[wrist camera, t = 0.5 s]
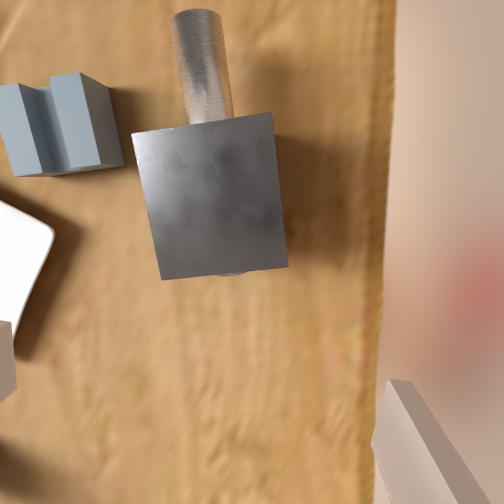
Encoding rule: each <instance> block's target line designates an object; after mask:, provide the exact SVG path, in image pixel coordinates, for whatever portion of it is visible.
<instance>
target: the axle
mask: <svg viewBox="0 0 504 504" xmlns="http://www.w3.org/2000/svg"><path fill="white" fill-rule="evenodd" d="M170 30H171V36H172V42H173V48H174V54H175V60H176V66H177V72H178V78H179V84H180V90H181V96H182V102H183V108H184V114H185V120H186V125H191V124H198V123H204V122H211V121H217V120H224V119H230V118H234V110H233V103H232V95H231V88H230V80H229V73H228V65H227V58H226V50H225V43H224V35H223V28H222V20H221V17H220V16H219V15H218V14H217V13H215V12H213V11H210V10H206V9H191V10H186V11H183V12H180V13H178V14H176V15H175V16H173V17H172V19H171V20H170ZM247 272H249V271H247ZM243 273H246V272H237V273H228V274H218V275H215V276H234V275H239V274H243Z"/></svg>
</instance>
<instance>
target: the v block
mask: <svg viewBox="0 0 504 504" xmlns="http://www.w3.org/2000/svg"><path fill="white" fill-rule="evenodd" d="M48 78H49V82H50V86H47V87H41V88H36V89H33V88H30V87H28V86H25V85H22V84H19V83H15V84H9V85H3V86H0V131H1V134H2V137H3V141H4V144H5V147H6V151H7V154H8V158H9V161H10V164H11V168H12V171H13V174H14V177H50V176H57V175H64V174H71V173H78V172H85V171H92V170H99V169H106V168H113V167H120V166H125V163H124V158H123V154H122V149H121V145H120V140H119V135H118V131H117V126H116V121H115V117H114V112H113V108H112V103H111V98H110V94H109V89H108V87H107V86H105V85H103V84H101V83H99V82H97V81H95V80H93V79H92V78H90V77H88V76H86V75H84V74H82V73H80V72H77V73H71V74H65V75H60V76H54V77H48Z"/></svg>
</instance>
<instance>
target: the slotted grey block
mask: <svg viewBox="0 0 504 504" xmlns="http://www.w3.org/2000/svg"><path fill="white" fill-rule="evenodd" d="M131 135H132V140H133V145H134V150H135V155H136V159H137V164H138V169H139V174H140V179H141V184H142V188H143V193H144V198H145V203H146V208H147V212H148V217H149V222H150V227H151V232H152V237H153V241H154V246H155V251H156V256H157V261H158V266H159V270H160V275H161V280H171V279H180V278H190V277H199V276H209V275H218V274H228V273H237V272H247V271H256V270H266V269H275V268H285V267H288V257H287V248H286V239H285V230H284V220H283V211H282V202H281V193H280V183H279V174H278V165H277V155H276V146H275V137H274V128H273V118H272V112H269V113H263V114H256V115H250V116H243V117H237V118H230V119H224V120H217V121H211V122H204V123H198V124H191V125H185V126H178V127H172V128H165V129H159V130H152V131H146V132H139V133H133V134H131Z"/></svg>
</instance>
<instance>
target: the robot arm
mask: <svg viewBox="0 0 504 504" xmlns="http://www.w3.org/2000/svg"><path fill="white" fill-rule="evenodd" d="M16 389H17V384H16V372H15V359H14V347H13V335H12V323H11V322H9V321H2V320H0V403H1V402H2V401H3V400H4V399H5V398H6V397H8V396H9V395H10V394H11V393H12V392H13V391H15V390H16ZM370 444H371V447H372V450H373V453H374V456H375V459H376V461H377V464H378V467H379V470H380V473H381V475H382V478H383V481H384V484H385V487H386V489H387V492H388V495H389V498H390V501H391V503H392V504H491V503H490V501H489V500H488V498H487V497H486V495H485V493H484V492H483V490H482V489H481V487H480V486H479V484H478V483H477V481H476V480H475V478H474V477H473V475H472V474H471V472H470V471H469V469H468V468H467V466H466V465H465V463H464V461H463V460H462V458H461V457H460V455H459V454H458V452H457V451H456V449H455V448H454V446H453V445H452V443H451V441H450V440H449V438H448V437H447V435H446V434H445V432H444V431H443V429H442V428H441V426H440V425H439V423H438V422H437V420H436V418H435V417H434V415H433V414H432V412H431V411H430V409H429V408H428V407H427V405H426V403H425V402H424V400H423V399H422V397H421V396H420V394H419V393H418V391H417V389H416V388H415V386H414V385H413V383H412V382H409V381H402V380H395V379H388V383H387V386H386V390H385V393H384V397H383V400H382V404H381V408H380V411H379V415H378V418H377V422H376V425H375V429H374V432H373V436H372V440H371V443H370Z"/></svg>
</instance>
